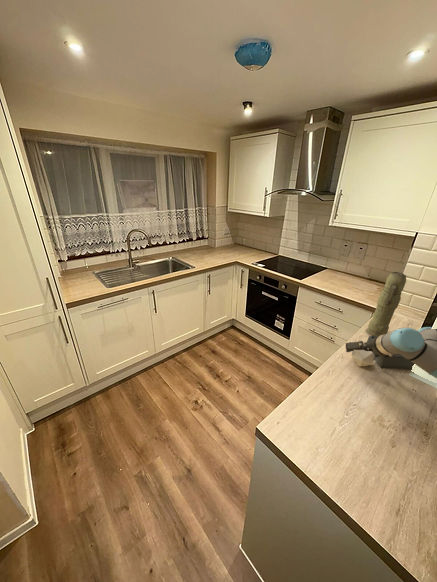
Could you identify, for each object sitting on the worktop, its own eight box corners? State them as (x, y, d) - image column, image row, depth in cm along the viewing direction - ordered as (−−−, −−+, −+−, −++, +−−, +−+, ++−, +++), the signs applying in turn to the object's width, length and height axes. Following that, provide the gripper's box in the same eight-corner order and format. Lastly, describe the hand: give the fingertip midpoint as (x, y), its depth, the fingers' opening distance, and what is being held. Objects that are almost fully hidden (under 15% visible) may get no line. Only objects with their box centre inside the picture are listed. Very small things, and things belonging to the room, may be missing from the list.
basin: (393, 348, 117) (398, 337, 114) (413, 369, 104) (419, 357, 101) (364, 346, 117) (369, 335, 114) (380, 367, 104) (385, 355, 102)
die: (358, 355, 112) (350, 340, 109) (380, 356, 105) (371, 341, 102) (354, 369, 108) (345, 355, 105) (376, 372, 101) (367, 356, 98)
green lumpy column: (385, 330, 131) (409, 272, 116) (385, 341, 122) (411, 279, 107) (367, 325, 135) (388, 268, 120) (366, 335, 126) (388, 275, 111)
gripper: (351, 349, 88) (333, 355, 108) (423, 361, 83) (390, 364, 104) (351, 330, 91) (334, 339, 111) (421, 340, 86) (389, 347, 106)
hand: (361, 351), depth 107 cm, fingers open, 11 cm apart
